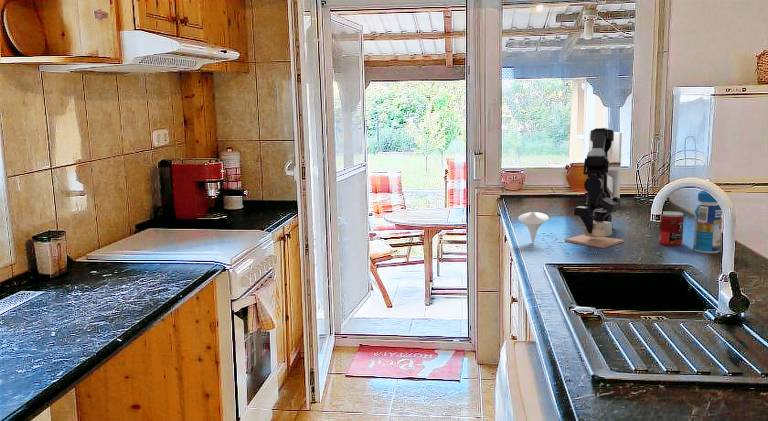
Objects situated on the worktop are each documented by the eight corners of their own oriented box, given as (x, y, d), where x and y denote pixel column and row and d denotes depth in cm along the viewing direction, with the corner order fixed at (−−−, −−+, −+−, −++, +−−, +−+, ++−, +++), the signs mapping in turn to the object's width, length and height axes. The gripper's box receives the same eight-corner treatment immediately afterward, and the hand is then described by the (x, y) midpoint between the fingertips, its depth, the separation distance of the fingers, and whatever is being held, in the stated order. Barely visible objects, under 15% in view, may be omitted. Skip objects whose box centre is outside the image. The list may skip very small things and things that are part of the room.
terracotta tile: (564, 241, 244) (564, 239, 244) (585, 236, 252) (585, 233, 252) (603, 247, 232) (603, 245, 231) (623, 242, 240) (623, 239, 240)
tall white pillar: (587, 204, 325) (589, 132, 319) (608, 203, 326) (610, 131, 320) (597, 208, 313) (599, 133, 308) (619, 207, 315) (621, 132, 309)
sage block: (591, 234, 255) (592, 221, 254) (597, 233, 257) (598, 220, 256) (606, 236, 250) (606, 223, 249) (611, 235, 253) (612, 222, 252)
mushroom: (546, 246, 236) (546, 213, 234) (515, 244, 240) (516, 212, 238) (549, 240, 246) (550, 208, 244) (520, 239, 250) (520, 207, 248)
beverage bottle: (688, 248, 227) (691, 190, 224) (713, 248, 227) (716, 190, 223) (699, 254, 219) (702, 194, 215) (725, 253, 218) (728, 193, 215)
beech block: (584, 235, 242) (584, 222, 241) (592, 233, 245) (592, 220, 244) (596, 237, 238) (596, 224, 237) (604, 235, 241) (604, 222, 240)
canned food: (672, 247, 230) (673, 215, 228) (653, 243, 237) (654, 212, 235) (687, 244, 233) (688, 213, 232) (668, 240, 240) (669, 210, 239)
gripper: (600, 194, 227) (599, 239, 229) (629, 188, 238) (628, 231, 241) (572, 191, 235) (571, 235, 238) (602, 186, 247) (601, 227, 249)
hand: (594, 232), depth 241 cm, fingers closed on beech block, 5 cm apart
